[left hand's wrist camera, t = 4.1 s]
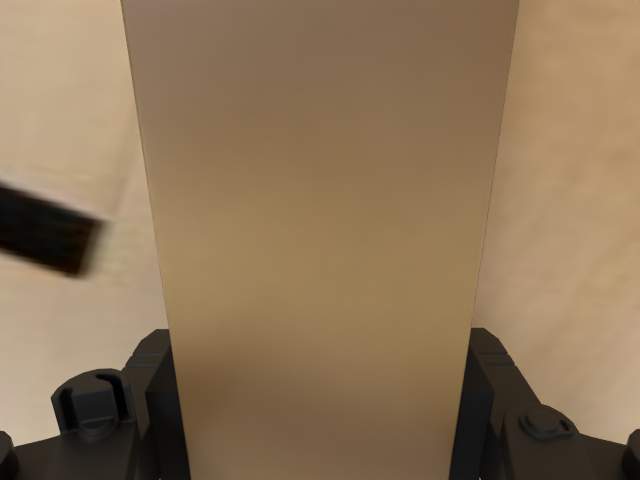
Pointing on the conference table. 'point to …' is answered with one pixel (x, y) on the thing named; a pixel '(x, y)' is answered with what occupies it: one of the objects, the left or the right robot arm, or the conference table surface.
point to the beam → (319, 222)
